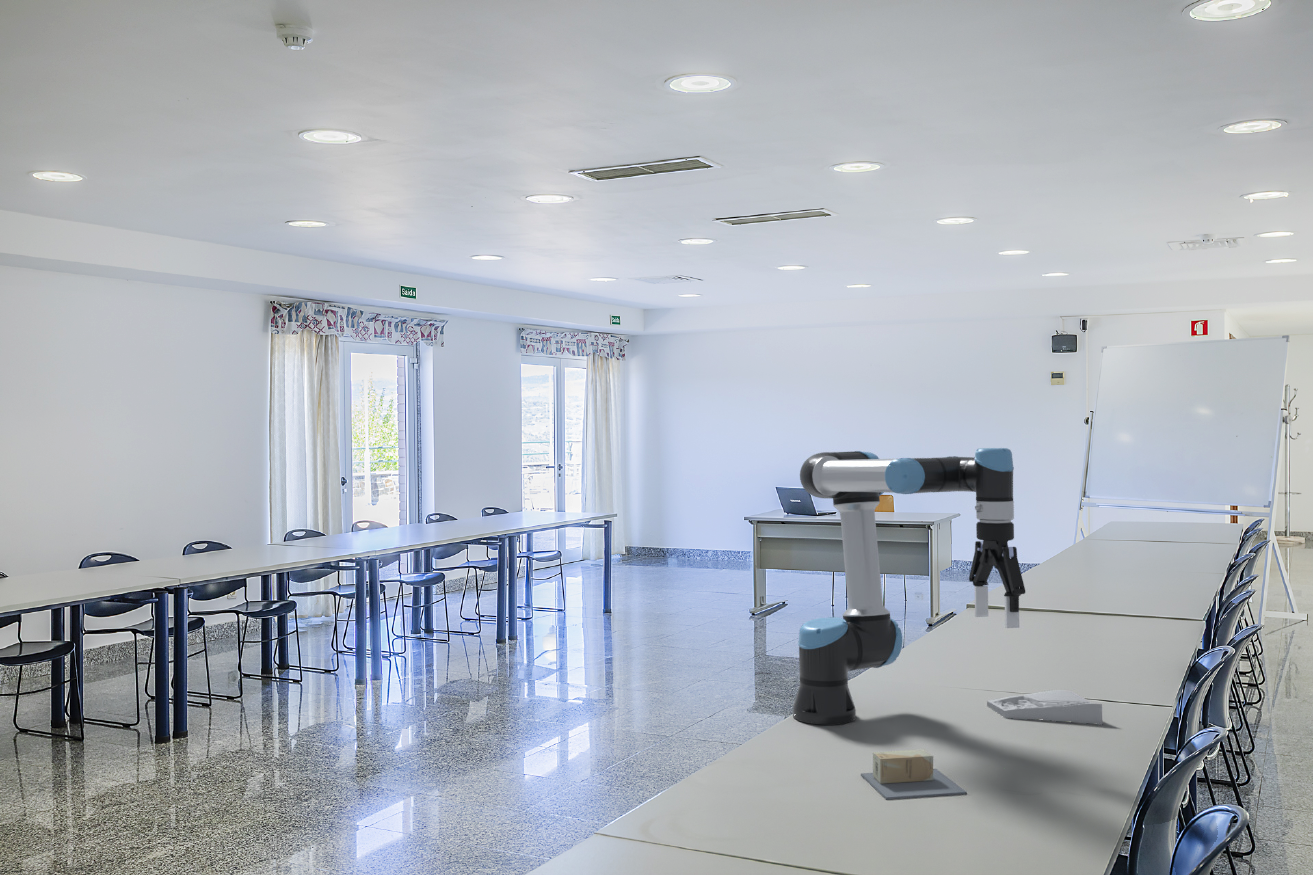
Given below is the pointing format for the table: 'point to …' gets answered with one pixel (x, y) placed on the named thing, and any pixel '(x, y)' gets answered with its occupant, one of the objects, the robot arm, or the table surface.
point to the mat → (916, 787)
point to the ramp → (1048, 707)
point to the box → (902, 766)
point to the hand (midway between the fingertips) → (996, 622)
